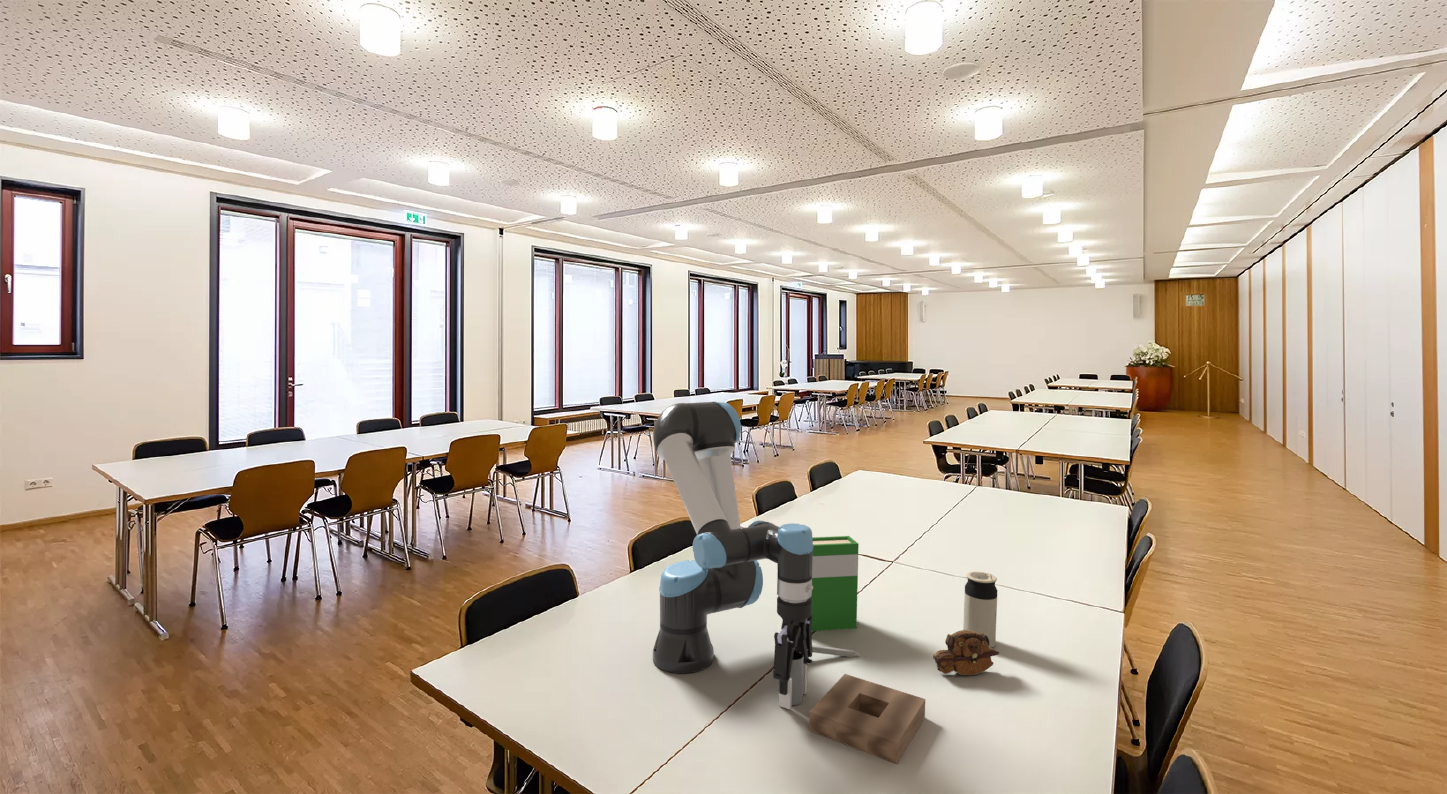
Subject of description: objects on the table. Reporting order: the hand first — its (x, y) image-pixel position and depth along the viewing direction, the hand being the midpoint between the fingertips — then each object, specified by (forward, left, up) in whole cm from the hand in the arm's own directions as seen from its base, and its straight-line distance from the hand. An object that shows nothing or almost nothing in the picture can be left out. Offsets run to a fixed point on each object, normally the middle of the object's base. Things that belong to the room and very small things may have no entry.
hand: (792, 698), depth 136 cm
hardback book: (-11, +39, 0) cm, 41 cm away
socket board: (+17, +1, 0) cm, 17 cm away
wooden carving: (+29, +34, -1) cm, 45 cm away
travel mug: (+28, +53, 0) cm, 60 cm away
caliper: (-3, +21, -1) cm, 21 cm away
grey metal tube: (0, 0, 0) cm, 1 cm away
